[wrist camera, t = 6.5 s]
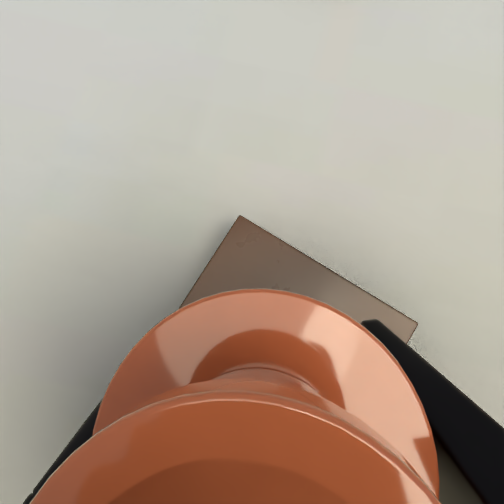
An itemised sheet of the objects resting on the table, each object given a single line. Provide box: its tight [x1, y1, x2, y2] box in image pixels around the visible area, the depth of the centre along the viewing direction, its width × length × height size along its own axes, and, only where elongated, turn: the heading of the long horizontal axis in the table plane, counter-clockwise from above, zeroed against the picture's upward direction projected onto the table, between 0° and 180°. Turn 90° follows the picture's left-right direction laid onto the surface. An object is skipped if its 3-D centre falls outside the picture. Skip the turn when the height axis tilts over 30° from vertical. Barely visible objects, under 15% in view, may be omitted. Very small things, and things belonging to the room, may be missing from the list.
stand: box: [179, 215, 418, 344], centre depth 17 cm, size 10×10×2 cm
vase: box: [29, 288, 442, 504], centre depth 9 cm, size 6×6×14 cm
